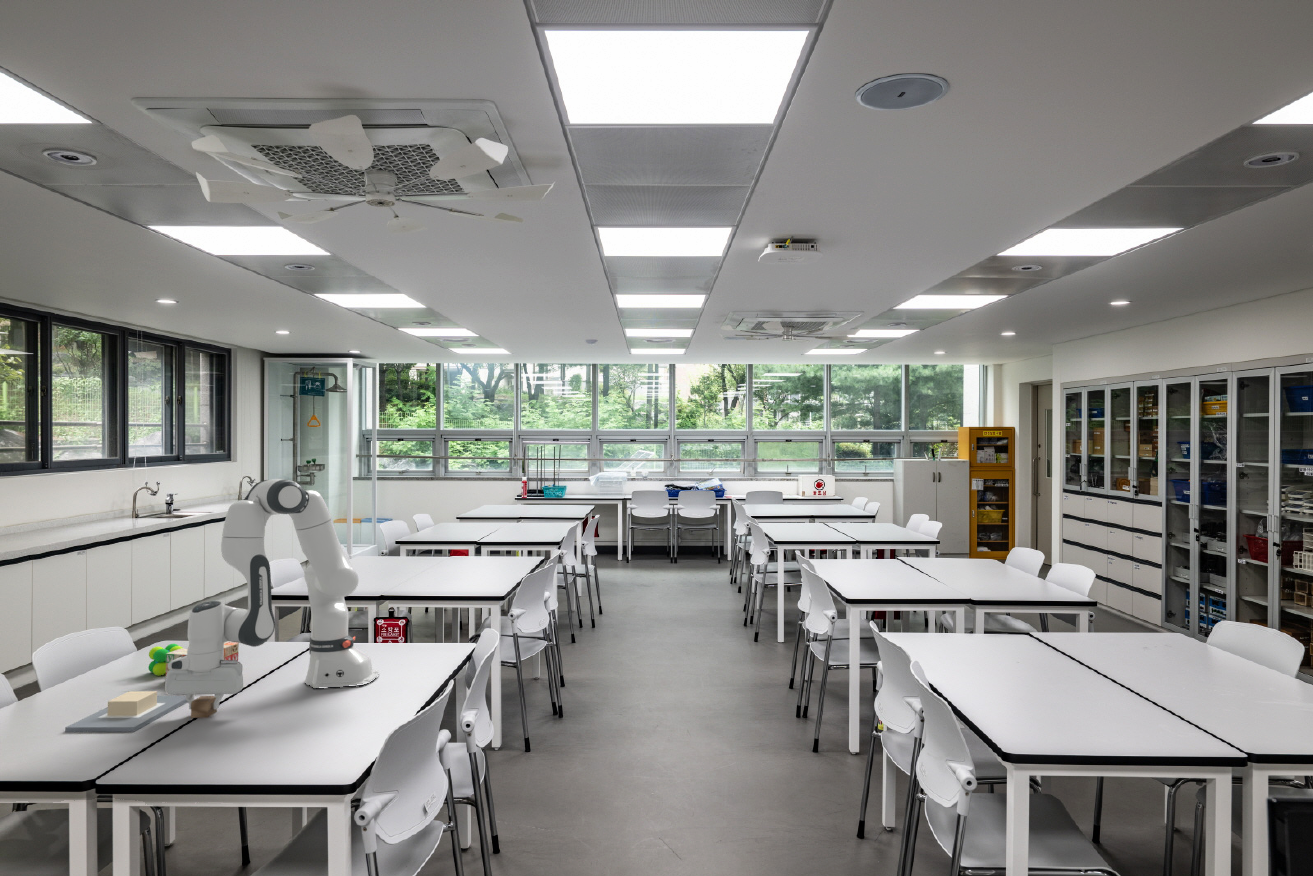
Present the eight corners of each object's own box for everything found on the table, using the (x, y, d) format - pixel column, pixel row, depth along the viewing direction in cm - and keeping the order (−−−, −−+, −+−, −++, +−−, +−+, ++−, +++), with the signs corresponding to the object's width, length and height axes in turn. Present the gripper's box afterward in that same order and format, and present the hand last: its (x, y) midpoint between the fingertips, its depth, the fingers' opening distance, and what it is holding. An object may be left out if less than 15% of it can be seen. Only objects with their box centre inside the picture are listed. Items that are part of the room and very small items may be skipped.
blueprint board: (191, 699, 207) (192, 682, 207) (134, 731, 183) (134, 712, 183) (131, 699, 207) (131, 682, 207) (65, 732, 183) (65, 712, 183)
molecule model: (185, 672, 233) (176, 666, 239) (186, 646, 233) (177, 641, 239) (155, 678, 226) (146, 673, 232) (155, 651, 226) (147, 646, 232)
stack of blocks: (164, 682, 223) (165, 644, 223) (180, 676, 229) (181, 639, 230) (223, 685, 220) (224, 647, 220) (238, 679, 226) (239, 642, 227)
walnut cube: (216, 711, 198) (217, 696, 198) (207, 717, 193) (207, 701, 194) (201, 711, 198) (201, 696, 198) (190, 717, 193) (191, 701, 193)
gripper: (248, 656, 199) (247, 704, 199) (176, 656, 199) (175, 704, 198) (235, 663, 193) (234, 712, 193) (161, 663, 193) (160, 713, 192)
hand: (204, 708), depth 196 cm, fingers closed on walnut cube, 4 cm apart
